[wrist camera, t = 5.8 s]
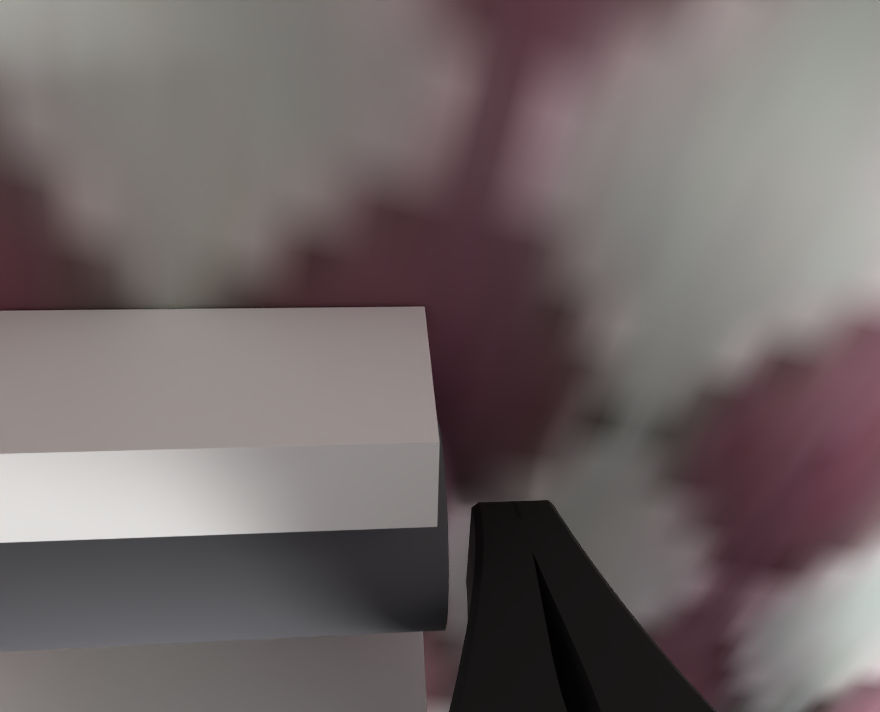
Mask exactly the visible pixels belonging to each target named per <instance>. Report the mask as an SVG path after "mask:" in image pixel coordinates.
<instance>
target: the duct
mask: <svg viewBox="0 0 880 712" xmlns="http://www.w3.org/2000/svg"><path fill="white" fill-rule="evenodd" d="M439 445H440V442H439V433H438V423H437V414H436V405H435V396H434V387H433V378H432V369H431V360H430V350H429V341H428V332H427V323H426V314H425V307H328V308H228V309H127V310H26V311H0V543H8V542H36V541H63V540H90V539H117V538H145V537H172V536H199V535H226V534H254V533H281V532H308V531H335V530H363V529H390V528H417V527H437V517H438V481H439ZM0 712H427V703H426V683H425V663H424V642H423V631H421V632H400V633H380V634H359V635H338V636H318V637H297V638H276V639H256V640H235V641H214V642H193V643H173V644H152V645H131V646H111V647H90V648H69V649H49V650H28V651H7V652H0Z"/></svg>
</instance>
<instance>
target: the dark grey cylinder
mask: <svg viewBox="0 0 880 712" xmlns="http://www.w3.org/2000/svg"><path fill="white" fill-rule="evenodd" d="M437 423H438V422H437ZM438 433H439V442H440V445H439V481H438V517H437V527H417V528H390V529H363V530H335V531H308V532H281V533H254V534H226V535H199V536H172V537H145V538H117V539H90V540H63V541H36V542H8V543H0V652H7V651H28V650H49V649H69V648H90V647H111V646H131V645H152V644H173V643H193V642H214V641H235V640H256V639H276V638H297V637H318V636H338V635H359V634H380V633H400V632H421V631H442V630H445V629H446V625H447V615H448V590H449V557H448V518H447V496H446V479H445V465H444V453H443V444H442V436H441V430H440V425H439V423H438Z"/></svg>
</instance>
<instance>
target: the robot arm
mask: <svg viewBox="0 0 880 712" xmlns="http://www.w3.org/2000/svg"><path fill="white" fill-rule="evenodd" d="M466 585H467V602H468V624H467V630H466V635H465V640H464V645H463V650H462V655H461V660H460V665H459V671H458V676H457V680H456V685H455V689H454V693H453V697H452V702H451V706H450V710H449V712H716V710H715V709H714V708H713V707H712V706H711V705H710V704H709V703H708V702H707V701H706V700H705V699H704V698H703V697H702V696H701V694H700V693H699V692H698V691H697V690H696V689H695V688H694V687H693V686H692V685H691V683H690V682H689V681H688V680H687V679H686V678H685V677H684V676H683V675H682V673H681V672H680V671H679V670H678V669H677V668H676V667H675V665H674V664H673V663H672V662H671V661H670V660H669V658H668V657H667V656H666V655H665V654H664V653H663V651H662V650H661V649H660V648H659V647H658V646H657V644H656V643H655V642H654V641H653V640H652V638H651V637H650V636H649V635H648V634H647V632H646V631H645V630H644V629H643V628H642V626H641V625H640V624H639V623H638V621H637V620H636V619H635V618H634V616H633V615H632V614H631V612H630V611H629V610H628V609H627V607H626V606H625V605H624V604H623V602H622V601H621V600H620V598H619V597H618V596H617V595H616V593H615V592H614V591H613V589H612V588H611V587H610V586H609V584H608V583H607V582H606V580H605V579H604V578H603V576H602V575H601V574H600V572H599V571H598V569H597V568H596V567H595V565H594V564H593V563H592V561H591V560H590V558H589V557H588V556H587V554H586V553H585V551H584V550H583V549H582V547H581V546H580V544H579V543H578V541H577V540H576V538H575V537H574V536H573V534H572V533H571V531H570V530H569V528H568V527H567V525H566V524H565V522H564V521H563V519H562V518H561V516H560V515H559V513H558V511H557V510H556V508H555V507H554V505H553V504H552V503H550V502H549V501H548V500H540V501H509V502H479V503H477V504H476V505H475V506H473V507H472V508H471V522H470V536H469V550H468V564H467V578H466Z"/></svg>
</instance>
